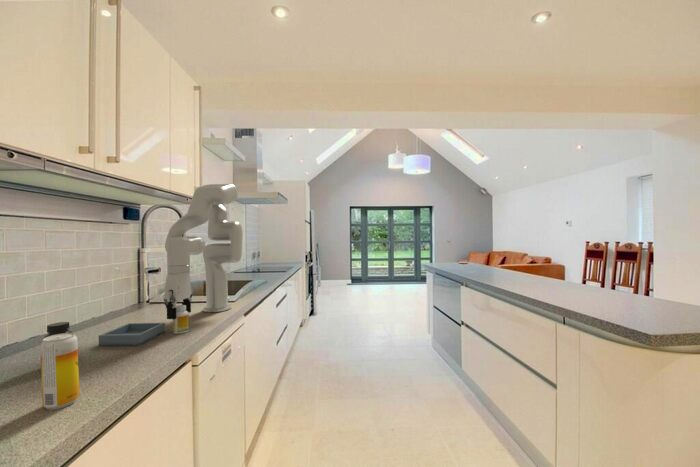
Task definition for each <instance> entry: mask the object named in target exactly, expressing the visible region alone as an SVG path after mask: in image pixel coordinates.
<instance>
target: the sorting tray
mask: <svg viewBox="0 0 700 467" xmlns="http://www.w3.org/2000/svg"><path fill="white" fill-rule="evenodd" d="M164 333H166V322H129V323H126V324H124V325H120V326H118V327H116V328H114V329H113V328H112V330H109V331H106V332H103V333H102V334H98V346H99V347H104V346H105V347H118V346H119V347H121V346H122V347H123V346H124V347H127V346H131V347H132V346H135V347H136V346H142V345H143V344H145V343H147V342H149V341H151V340H152V339H155V338H156V337H159V336H160V335H162V334H164Z"/></svg>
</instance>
